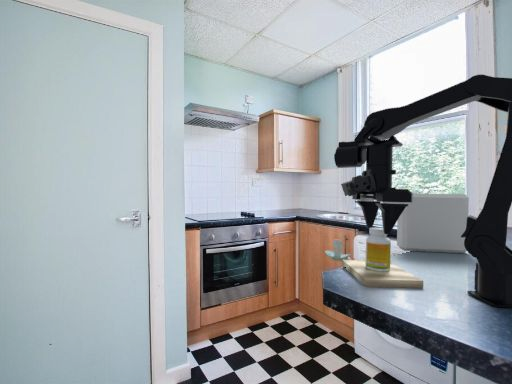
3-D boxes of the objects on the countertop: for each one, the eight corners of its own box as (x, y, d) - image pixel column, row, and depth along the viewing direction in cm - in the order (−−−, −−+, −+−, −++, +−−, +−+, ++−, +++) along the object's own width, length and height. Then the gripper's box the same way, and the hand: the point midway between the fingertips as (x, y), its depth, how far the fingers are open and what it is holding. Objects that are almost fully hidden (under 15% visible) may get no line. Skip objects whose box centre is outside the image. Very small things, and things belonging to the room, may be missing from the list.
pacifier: (331, 256, 82) (322, 259, 78) (331, 236, 82) (323, 238, 78) (354, 260, 78) (347, 263, 73) (355, 239, 78) (348, 241, 73)
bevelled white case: (455, 249, 95) (456, 194, 95) (470, 254, 87) (471, 194, 87) (394, 246, 98) (395, 193, 98) (403, 251, 90) (404, 193, 90)
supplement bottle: (393, 273, 60) (394, 230, 60) (368, 271, 61) (369, 229, 61) (386, 266, 65) (387, 227, 65) (363, 264, 66) (364, 226, 66)
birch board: (423, 287, 55) (423, 280, 55) (365, 286, 55) (365, 279, 55) (386, 266, 71) (386, 260, 71) (341, 265, 71) (342, 259, 71)
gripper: (334, 168, 72) (333, 225, 73) (360, 161, 54) (358, 237, 54) (374, 169, 72) (373, 226, 72) (414, 162, 54) (413, 238, 54)
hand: (377, 230), depth 63 cm, fingers open, 9 cm apart
